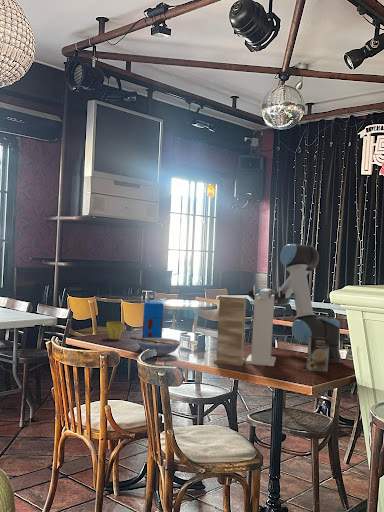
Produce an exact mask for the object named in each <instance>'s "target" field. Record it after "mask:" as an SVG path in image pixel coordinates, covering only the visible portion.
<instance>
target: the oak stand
mask: <svg viewBox="0 0 384 512" xmlns="http://www.w3.org/2000/svg"><path fill="white" fill-rule="evenodd" d="M246 308H247V296H242V295H241V296H239V295H237V296H236V295H226V294H225V295H224V294H223V295H221V296H219V307H218V322H217V323H218V324H217V341H216V357H215V358H214V360H213V364H216V365H227V366H238V367H239V366H240V367H242V366H244V363H246V358H245V357H244V347H245V346H244V345H245V331H246V330H245V328H246V326H245V325H246V312H247V311H246V310H247V309H246Z"/></svg>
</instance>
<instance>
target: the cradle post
mask: <svg viewBox="0 0 384 512" xmlns="http://www.w3.org/2000/svg"><path fill="white" fill-rule="evenodd" d="M253 301H254V300H253ZM253 303H254V304H253V305H254V306H253V307H254V308H253V322H252V335H251V336H252V340H251V354H248V356H247V358H245V364H246V365H256V366H266V365H267V366H268V367H274V366H275V363H276V359H277V356H272V347H273V346H272V342H273V328H274V318H273V312H274V313H275V305H274V295H271V297H269V298H268V299H259V294H258V293H257V294H256V295H255V301H254V302H253ZM267 366H266V367H267Z"/></svg>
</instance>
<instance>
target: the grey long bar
mask: <svg viewBox="0 0 384 512" xmlns="http://www.w3.org/2000/svg"><path fill="white" fill-rule="evenodd" d="M263 288H264V289H262V290H260V296H259V299H268V298H269V297H270V296H271V292H272V288H265V287H263Z"/></svg>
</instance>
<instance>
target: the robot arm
mask: <svg viewBox="0 0 384 512" xmlns="http://www.w3.org/2000/svg"><path fill="white" fill-rule="evenodd" d="M279 260H280V263H281V264H282V265H284V266H285V268H286V271H287V272H289V274H290V275H289V276H288V277H287V278H286V280H285V281H284V282H283V284H282V285H281V286H278V290H277V291H276V292H275V291H271V295H274V306H284V305H286V306H287V305H289V303H291V295H292V294H293V300H294V304H295V305H294V306H295V311H296V315H295V317H294V321H293V322H292V326H291V333H292V336H293V337H294V339H295V340H296V341H298V342H300V343H307V344H308V339H309V336H314V337H326V338H329V339H330V342H329V356H328V364H330V365H331V364H332V365H333V364H335V365H336V364H338V365H339V364H341V363H342V357H341V352H340V349H339V346H340V345H339V343H340V329H341V327H340V325H341V324H340V321H339V320H337V319H332V318H326V317H321V316H319V317H318V315H317V314H316V313H314V310H313V303H312V299H311V298H312V297H311V292H310V287H309V282H308V275H309V273H310V272H311V273H312V272H313V271H314V270H315V269H316V267H317V266H318V264H319V260H320V253H319V252H318V250H317V249H316V247H314V246H312V245H309V244H299V243H298V244H297V243H288V244H286V245H284V246H283V247H282V248H281V251H280V257H279ZM264 288H265V287H259V288H257V289H256V285H255V284H254V285H253V288H251V291H250V290H249V291H248V297H249V298H250V299H252V301H255V295H256V294H257V293H258V294H259V296H260V290H262V289H264ZM270 297H271V296H270ZM274 318H275V311H274V312H273V319H274Z"/></svg>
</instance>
